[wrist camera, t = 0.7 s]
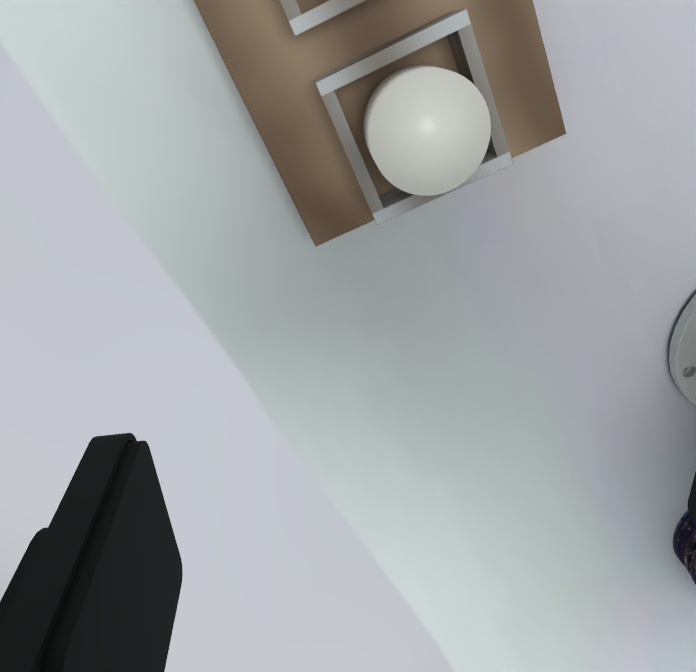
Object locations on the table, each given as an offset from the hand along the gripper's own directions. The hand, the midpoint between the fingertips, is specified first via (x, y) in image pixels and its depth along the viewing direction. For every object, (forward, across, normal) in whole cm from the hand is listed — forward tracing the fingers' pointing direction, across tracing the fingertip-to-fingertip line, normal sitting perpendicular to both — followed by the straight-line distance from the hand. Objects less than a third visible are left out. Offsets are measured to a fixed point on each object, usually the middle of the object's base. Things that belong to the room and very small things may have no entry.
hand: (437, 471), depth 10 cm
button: (+20, -4, -2) cm, 21 cm away
